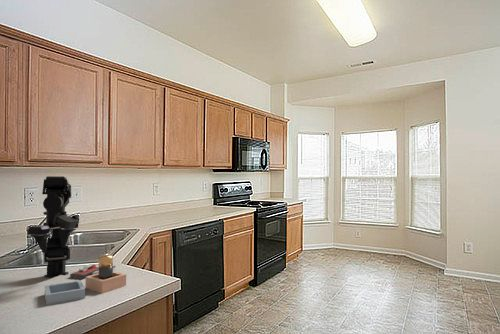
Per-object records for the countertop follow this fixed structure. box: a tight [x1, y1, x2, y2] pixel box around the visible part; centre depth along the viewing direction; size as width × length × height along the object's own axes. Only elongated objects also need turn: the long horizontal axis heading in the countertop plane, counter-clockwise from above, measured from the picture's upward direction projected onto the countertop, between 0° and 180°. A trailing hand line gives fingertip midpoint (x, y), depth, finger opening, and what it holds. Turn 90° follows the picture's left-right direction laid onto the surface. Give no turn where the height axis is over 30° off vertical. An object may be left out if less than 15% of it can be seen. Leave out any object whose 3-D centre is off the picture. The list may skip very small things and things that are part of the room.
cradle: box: [43, 279, 86, 306], centre depth 113 cm, size 11×11×4 cm
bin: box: [84, 270, 127, 294], centre depth 123 cm, size 10×10×5 cm
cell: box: [98, 253, 114, 280], centre depth 123 cm, size 5×5×12 cm
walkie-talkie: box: [69, 264, 117, 281], centre depth 141 cm, size 9×4×20 cm
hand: (54, 249), depth 128 cm, fingers open, 9 cm apart
